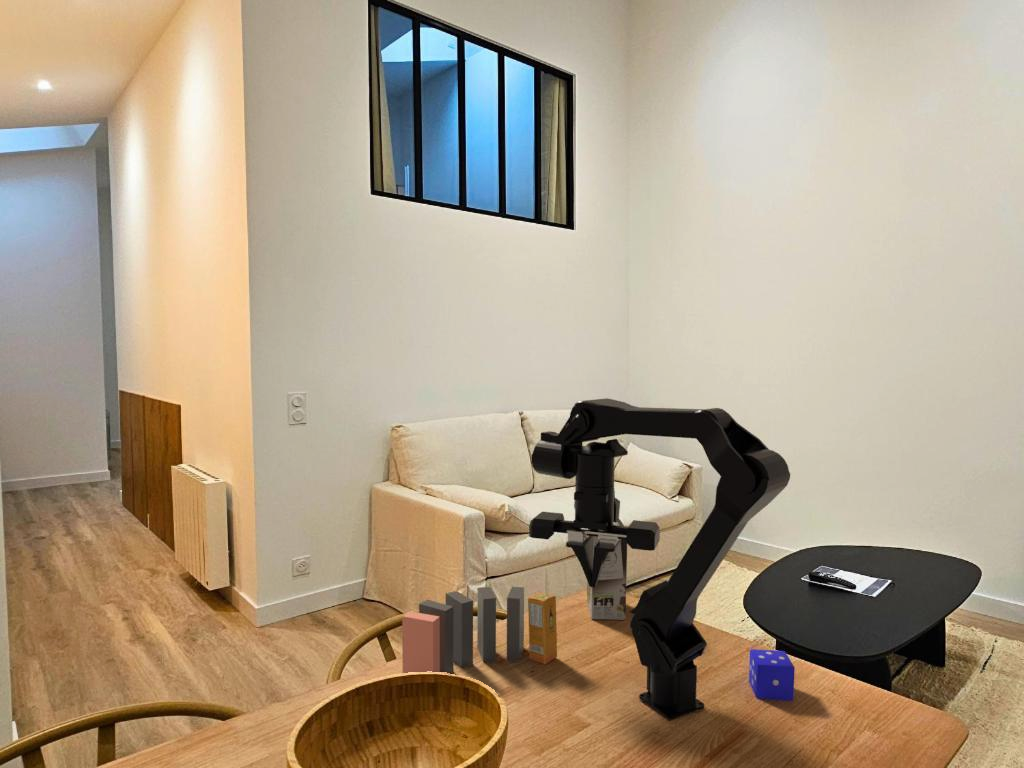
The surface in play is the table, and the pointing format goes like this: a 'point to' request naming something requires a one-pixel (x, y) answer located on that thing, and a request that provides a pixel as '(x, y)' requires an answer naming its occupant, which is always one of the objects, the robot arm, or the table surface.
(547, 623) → the supplement box
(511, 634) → the domino
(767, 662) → the die
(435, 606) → the domino
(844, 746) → the table surface
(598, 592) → the coffee box
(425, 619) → the domino
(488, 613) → the domino
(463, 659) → the domino
